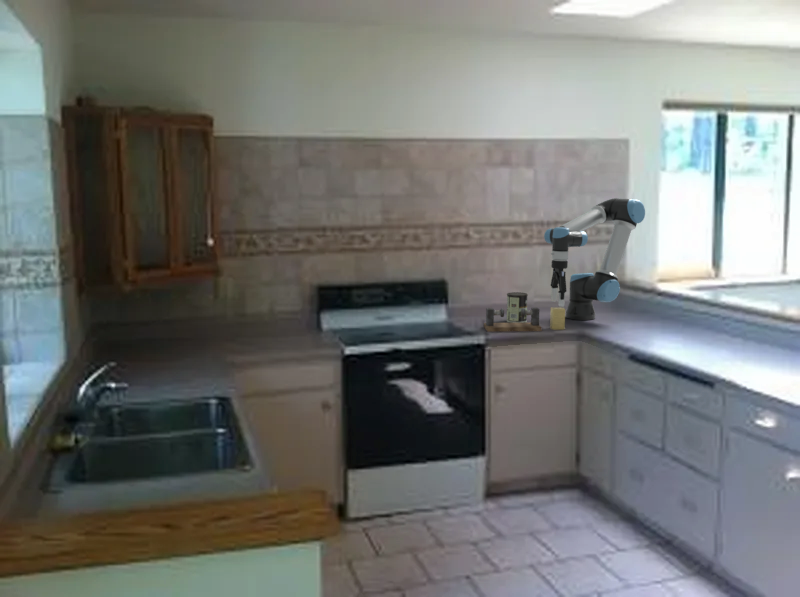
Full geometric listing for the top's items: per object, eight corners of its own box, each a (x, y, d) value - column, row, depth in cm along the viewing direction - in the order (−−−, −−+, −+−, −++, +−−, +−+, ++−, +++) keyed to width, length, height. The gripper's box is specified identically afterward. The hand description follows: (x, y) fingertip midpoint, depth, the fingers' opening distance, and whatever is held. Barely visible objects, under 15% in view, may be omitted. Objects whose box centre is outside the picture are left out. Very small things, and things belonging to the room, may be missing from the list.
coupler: (562, 327, 389) (562, 307, 387) (564, 329, 385) (565, 309, 383) (550, 327, 389) (550, 307, 387) (552, 329, 384) (552, 309, 383)
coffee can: (525, 319, 409) (526, 292, 407) (528, 323, 399) (528, 295, 397) (505, 319, 410) (505, 292, 407) (507, 323, 399) (508, 295, 397)
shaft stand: (536, 326, 392) (536, 306, 390) (541, 331, 381) (542, 310, 379) (483, 326, 390) (484, 306, 388) (487, 331, 379) (487, 310, 377)
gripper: (545, 257, 393) (543, 299, 396) (558, 262, 368) (556, 308, 372) (560, 257, 394) (558, 299, 397) (574, 263, 369) (572, 308, 372)
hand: (557, 303), depth 384 cm, fingers open, 13 cm apart
